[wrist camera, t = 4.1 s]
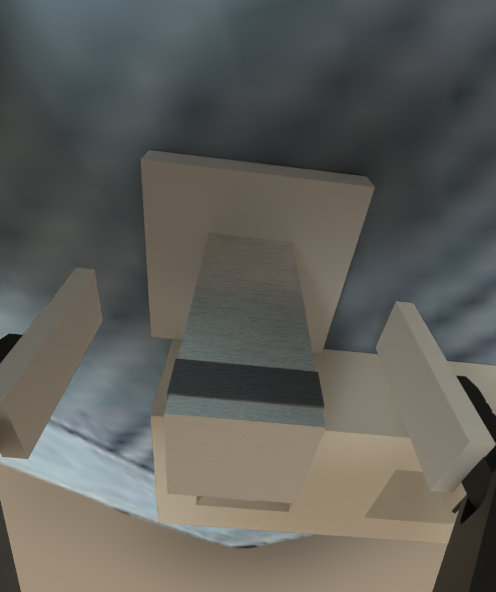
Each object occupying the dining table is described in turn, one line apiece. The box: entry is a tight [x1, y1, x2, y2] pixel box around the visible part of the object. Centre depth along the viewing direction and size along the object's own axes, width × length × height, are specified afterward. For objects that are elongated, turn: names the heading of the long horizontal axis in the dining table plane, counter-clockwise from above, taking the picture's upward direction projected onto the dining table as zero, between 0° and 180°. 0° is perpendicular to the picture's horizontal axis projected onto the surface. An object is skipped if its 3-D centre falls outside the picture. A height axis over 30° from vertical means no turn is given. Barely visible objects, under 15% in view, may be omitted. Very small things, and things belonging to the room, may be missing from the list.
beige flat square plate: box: [140, 150, 375, 354], centre depth 19 cm, size 10×10×2 cm
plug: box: [164, 233, 326, 503], centre depth 14 cm, size 4×4×10 cm
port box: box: [151, 339, 496, 544], centre depth 24 cm, size 22×12×6 cm, turn 84°
